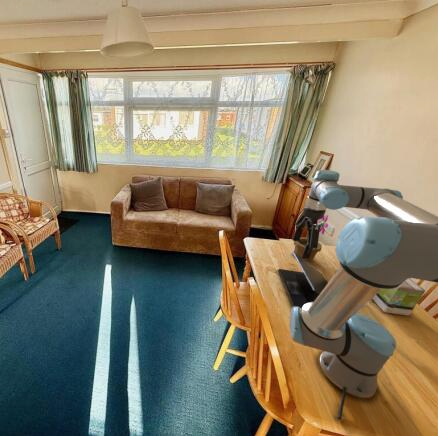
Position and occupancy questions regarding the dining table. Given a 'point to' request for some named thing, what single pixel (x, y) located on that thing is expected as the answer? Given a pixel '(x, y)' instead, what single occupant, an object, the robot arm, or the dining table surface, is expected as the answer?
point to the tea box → (399, 298)
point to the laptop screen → (312, 275)
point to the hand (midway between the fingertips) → (300, 248)
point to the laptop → (297, 288)
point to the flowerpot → (303, 241)
